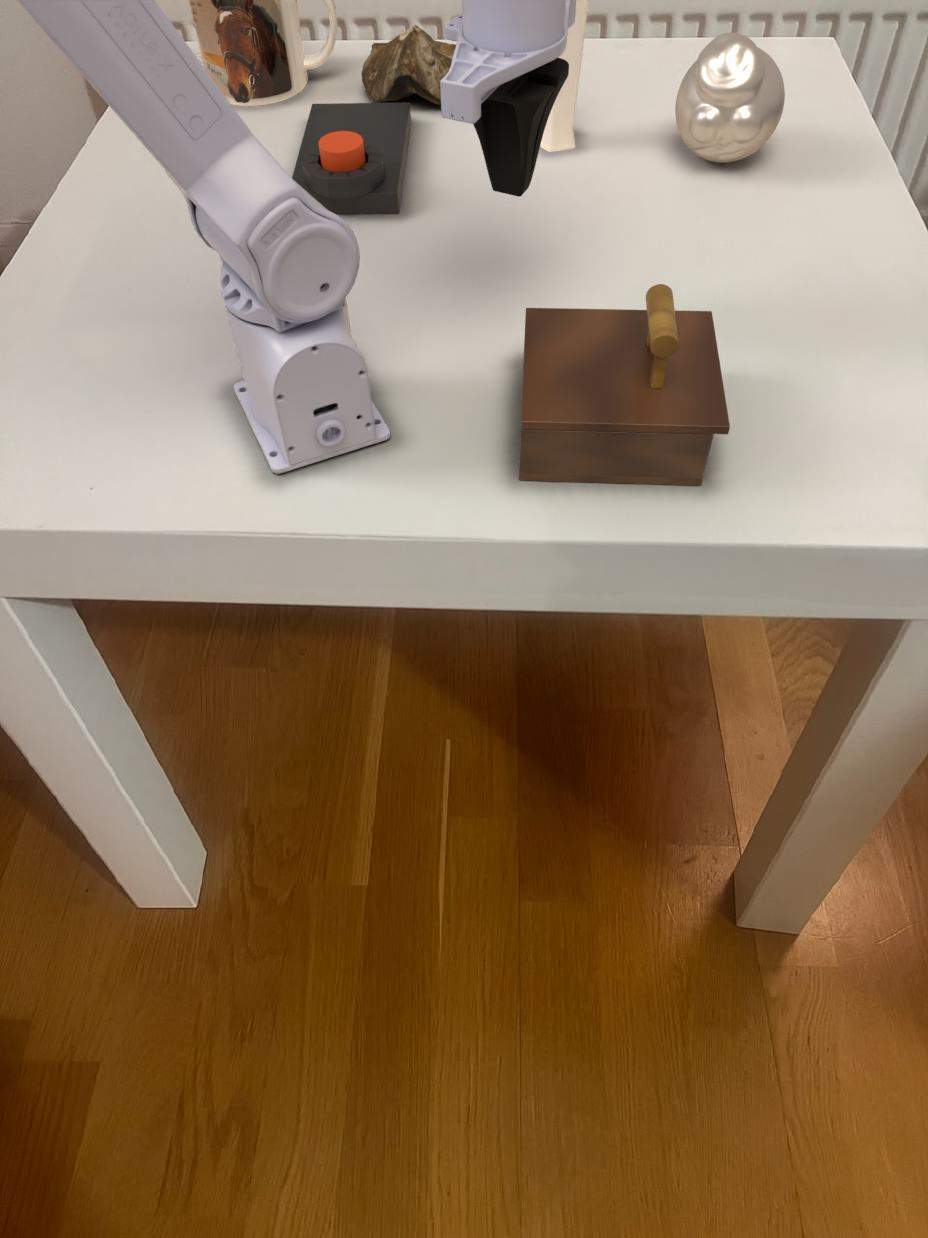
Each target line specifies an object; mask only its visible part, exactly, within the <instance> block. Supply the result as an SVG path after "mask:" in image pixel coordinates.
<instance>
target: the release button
mask: <svg viewBox="0 0 928 1238" xmlns="http://www.w3.org/2000/svg"><path fill="white" fill-rule="evenodd" d="M319 151H320V158H321V165H322V167H323V168H324V169H326V170H329V171H332V172H347V171H351V170H354V169H358V168H360V167H362V166H363V165H364V164H365V152H364V142H363V138H362V137H361V136H360V135H359V134H357V133H355V132H350V131H337V132H332V133H329V134H326V135H325V136H323V137H322V138H321V139H320V140H319Z"/></svg>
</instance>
